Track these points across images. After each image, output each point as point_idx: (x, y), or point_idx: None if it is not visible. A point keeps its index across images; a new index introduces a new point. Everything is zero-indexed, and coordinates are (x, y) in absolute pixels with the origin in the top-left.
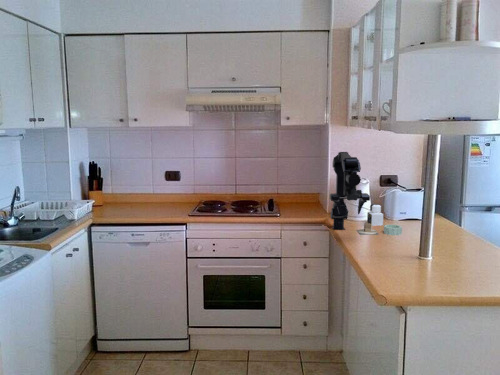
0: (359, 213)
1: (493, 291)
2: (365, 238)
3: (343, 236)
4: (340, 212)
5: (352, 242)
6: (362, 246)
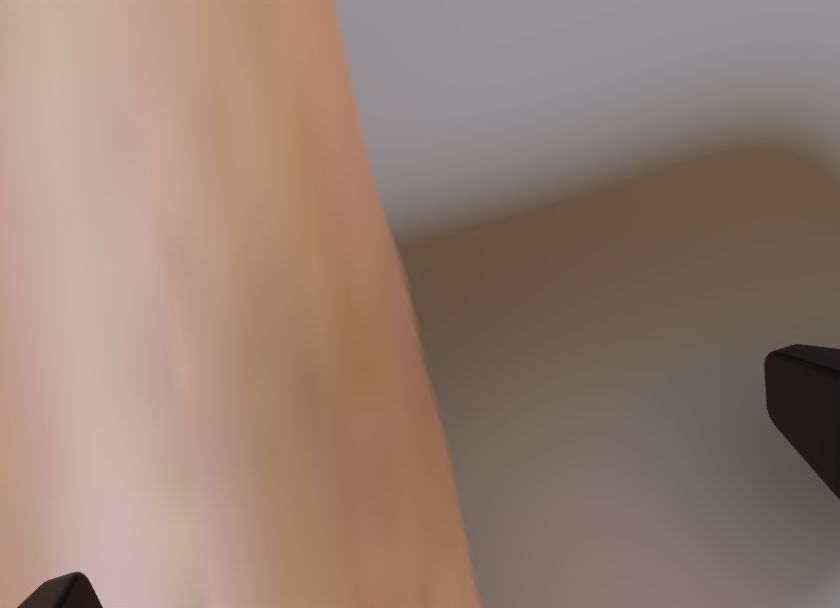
0: (25, 601)
1: None
2: (109, 542)
3: (432, 541)
4: (819, 368)
5: (280, 275)
6: (85, 71)
